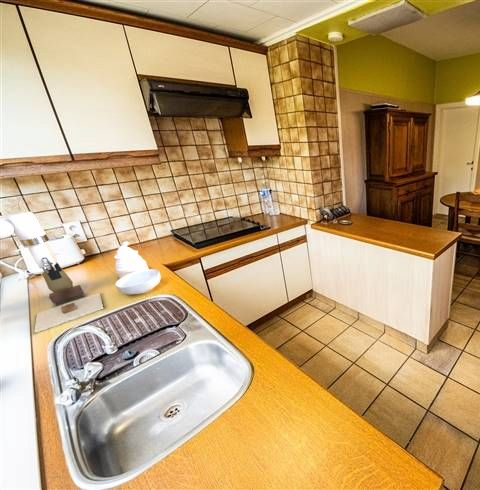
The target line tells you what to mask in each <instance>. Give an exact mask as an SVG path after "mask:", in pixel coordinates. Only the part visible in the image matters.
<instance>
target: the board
mask: <svg viewBox="0 0 480 490" xmlns="http://www.w3.org/2000/svg"><path fill="white" fill-rule="evenodd" d="M71 303H75V304H76V306H77V310H74V311H71V312H68V313H65V314H63V312H62V311H61V307H62V306H65V305H68V304H71ZM103 309H105V308H104V304H103V300H102V296H101V293H100V292H98V293H95V294H92V295H89V296H86V297H83V298H80V299H77V300H74V301H71V302H68V303H65V304H62V305H59V306H55V307H52V308H49V309H46V310H43V311H40V312H38V313H36V319H35V324H34V333H35V334H38V333H39V332H43V331H45V330H48V329H51V328H54V327H56V326H60V325H61V324H65V323H67V322H70V321H73V320H75V319H78V318H79V319H80V318H82V317H84V316H87V315H89V314H92V313H96V312H98V311H101V310H103Z"/></svg>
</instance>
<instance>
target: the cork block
mask: <svg viewBox="0 0 480 490" xmlns="http://www.w3.org/2000/svg"><path fill="white" fill-rule="evenodd" d="M70 303H71V302H70ZM74 310H77V306H76V304H75V303H71V304H68V305H65V306H62V307H61V311H62V312H63V314H65V313H68V312H71V311H74Z"/></svg>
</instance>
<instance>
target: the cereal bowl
mask: <svg viewBox="0 0 480 490" xmlns="http://www.w3.org/2000/svg"><path fill="white" fill-rule="evenodd" d="M161 279H162V275H161V273H160V271H159V270H158V269H155V268H149V269H147V270H141V271H137V272H134V273H131V274H129V275H127V276H124V277H123V278H121V279H120V278H119V279H118V280H117V281H116V282H115V287H116V289H117V290H118V291H119V293H121V294H124V295H130V296H131V295H141V294H145V293H147V292H150V291H152V290H153V289H154V288H155V287H156V286H157V285H159V283H160V282H161Z"/></svg>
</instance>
